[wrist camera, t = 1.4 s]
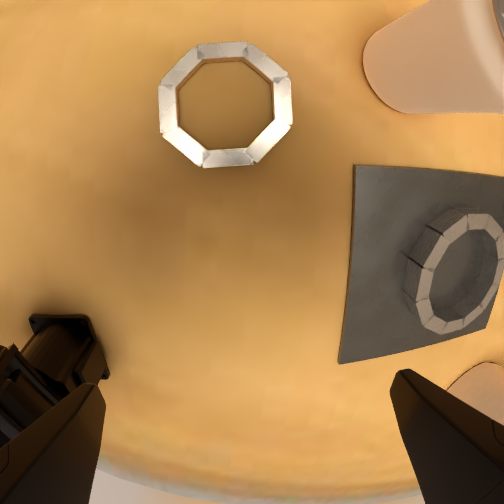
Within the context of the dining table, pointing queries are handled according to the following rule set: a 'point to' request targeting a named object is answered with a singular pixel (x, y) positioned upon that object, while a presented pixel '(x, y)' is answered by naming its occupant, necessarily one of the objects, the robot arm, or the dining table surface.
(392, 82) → the can
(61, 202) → the dining table surface
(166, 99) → the ring
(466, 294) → the ring seat
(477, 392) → the toilet tissue
